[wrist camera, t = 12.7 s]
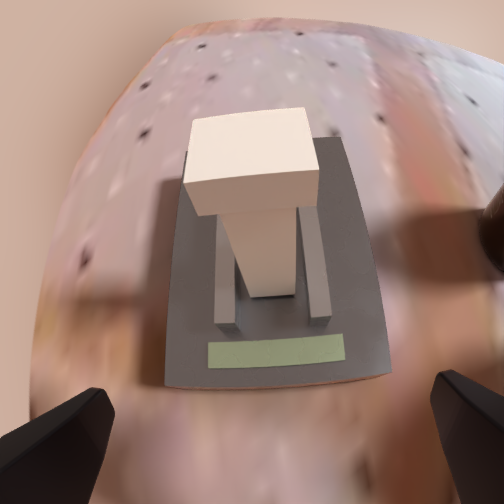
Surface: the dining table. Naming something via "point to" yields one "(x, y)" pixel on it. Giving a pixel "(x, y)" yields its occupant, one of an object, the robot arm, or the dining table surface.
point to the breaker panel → (278, 298)
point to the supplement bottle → (494, 229)
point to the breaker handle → (255, 188)
